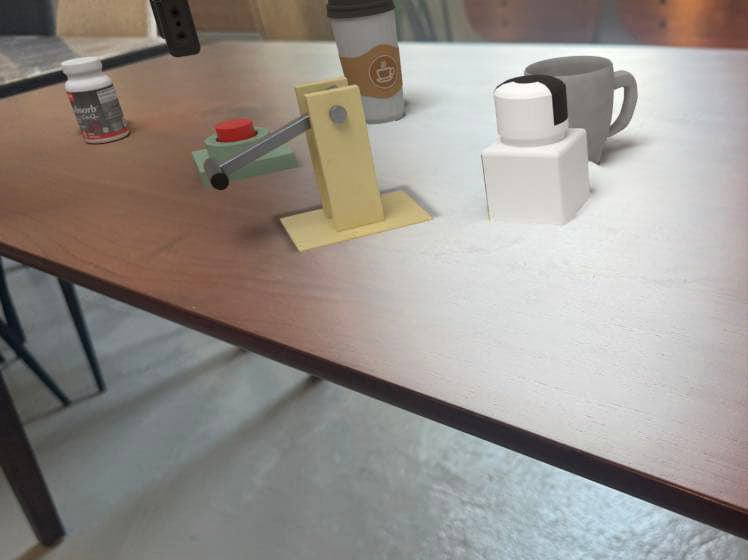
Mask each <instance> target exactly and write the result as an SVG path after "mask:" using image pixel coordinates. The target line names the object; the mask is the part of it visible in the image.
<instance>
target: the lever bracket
mask: <svg viewBox="0 0 748 560" xmlns="http://www.w3.org/2000/svg"><path fill="white" fill-rule="evenodd" d="M333 85H336V86H337V87H338V88H335V89H329V90H326V89H328V88H329V87H331V86H333ZM293 89H294V92H295V97H296V101H297V105H298V109H299V113H300V116H302V115H303V114H305V113H307V112H308V116H309V120H310V124H311V128H310V129H309V130H307V131H305V132H304V134H305V138H306V143H307V147H308V151H309V156H310V160H311V165H312V168H313V172H314V177H315V181H316V185H317V190H318V194H319V198H320V202H321V206H322V208H319V209H315V210H311V211H306V212H303V213H302V212H301V213H297V214H293V215H290V216H285V217H281V218H279V222H280V223H281V225H282V226H283V228H284V230H285V231H286V233H287V234H288V236H289V238H290V239H291V241H292V243H293V244H294V246H295V247H296V249H297V251H298V252H299V253H300V254H301V253H304V252H308V251H309V252H310V251H313V250H317V249H320V248H325V247H328V246H329V247H330V246H333V245H336V244H341V243H344V242H345V243H346V242H350V241H353V240H358V239H361V238H364V237H365V238H366V237H369V236H373V235H377V234H381V233H386V232H390V231H393V230H397V229H401V228H405V227H409V226H414V225H417V224H422V223H425V222H429V221H433V217H432V216H431V215H430V214H429V213H428V212H427V211H426V210H424V208H422V207H421V205H419V204H418V202H416V201H415V200H414V199H413V198H411V196H409V194H408V193H406V192H405V191H404V189H402V190H396V191H392V192H388V193H387V192H386V193H383V194H381V193H380V192H381V191H380V188H379V182H378V177H377V173H376V167H375V163H374V157H373V151H372V146H371V140H370V136H369V131H368V125H367V124H366V121H365V116H364V111H363V106H362V101H361V95H360V90H359V87H358V86H357V85H350V86H348V82H347V78H346V77H344V75H343V76H337V77H332V78H327V79H322V80H315V81H311V82H306V83H301V84H294V85H293Z"/></svg>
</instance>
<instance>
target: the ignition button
mask: <svg viewBox="0 0 748 560" xmlns="http://www.w3.org/2000/svg"><path fill="white" fill-rule="evenodd" d="M254 127H255V125H254V123H253V120H252V119H251V118H244V117H243V118H234V119H227V120H224V121H221V122H219V123H217V124H216V125H215V126H214V129H215V134H217V136H218V140H219V142H223V143H226V142H236V141H241V140H246V139H249V138H252V137H254V136H256V133H255V130H254Z"/></svg>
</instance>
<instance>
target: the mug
mask: <svg viewBox="0 0 748 560" xmlns="http://www.w3.org/2000/svg"><path fill="white" fill-rule="evenodd" d="M614 70H615V69H614V64H613V61H611V60H610V58H608V57H604V56H598V55H597V56H596V55H569V56H559V57H552V58H547V59H542V60H539V61H536V62H533V63H531V64H529V65H528V66H526V67H525V68H524V71H523V76H526V75H549V76H553V77H555V78H558V79H560V80H562V81H563V82H564V84H565V85H566V94H567V108H568V123H569V127H568V128H583V129H585V130H586V135H587V152H588V162H591V163H592V164H594V165H597V164H598V163H599V162H601V159H602V154H603V151H604V148H605V145H606V143H607V140H608V139H609V138H611V137H613V136H615V135H617V134H618V133H620V132H622V131H623V130H625V129H626V128H627V127H628V126H629V124H630V123H631V121H632V119H633V117H634V113H635V110H636V106H637V103H638V98H639V97H638V96H639V94H638V84H637V80H636V78H635V76H634V74H632V73H630V72H629V71H627V70H623V69H619V70H615V71H614ZM621 88H623V100H622V105H621V108H620V111H619V114H618V116H617V117H616V119H615V120H614V121H613V122H612V119H613V111H614V101H615V100H614V99H615V91H616V90H618V89H621ZM599 164H600V163H599ZM599 164H598V165H599Z"/></svg>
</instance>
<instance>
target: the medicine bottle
mask: <svg viewBox="0 0 748 560" xmlns="http://www.w3.org/2000/svg"><path fill="white" fill-rule="evenodd" d="M492 93H493V102H494V112H495V119H496V126H497V127H496V128H497V134H498V136H500V137H498V138H497V139H496V140H494V141H492V142H491V143H490V144H489V145H488V146H486V147H485V148H484V149H482V151H481V152H480V157H481V158H480V159H481V165H482V166H481V167H482V173H483V180H484V181H483V182H484V190H485V198H486V204H487V213H488V219H489V221H490V222H499V223H514V224H528V225H529V224H532V225H545V226H546V225H547V226H548V225H549V226H560V227H561V226H565V225H567V224H568V222H569V221H570V220H571V219H572V218H573V217H574V216H575V215H576V214H577V213H578V211H579V210H580V209H581V208H582V207H583V206H584V205H585V203H586V202H587V201H588V200H589V199H590V198H591V190H590V189H591V188H590V172H589V160H588V152H587V135H586V130H585V129H583V128H568V127H569V123H568V108H567V94H566V85H565V84H564V82H563V81H562V80H560V79H558V78H555V77H553V76H549V75H526V76H524V75H520V76H516V77H512V78H509V79H506V80H504V81H503V82H502V83H499V84H497V86H496V87H495V88H494V90H493V92H492Z"/></svg>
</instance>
